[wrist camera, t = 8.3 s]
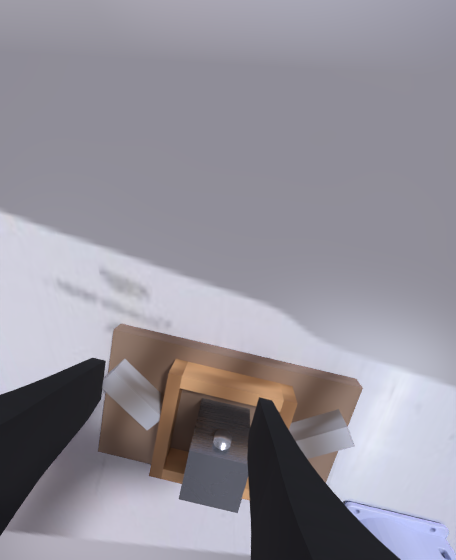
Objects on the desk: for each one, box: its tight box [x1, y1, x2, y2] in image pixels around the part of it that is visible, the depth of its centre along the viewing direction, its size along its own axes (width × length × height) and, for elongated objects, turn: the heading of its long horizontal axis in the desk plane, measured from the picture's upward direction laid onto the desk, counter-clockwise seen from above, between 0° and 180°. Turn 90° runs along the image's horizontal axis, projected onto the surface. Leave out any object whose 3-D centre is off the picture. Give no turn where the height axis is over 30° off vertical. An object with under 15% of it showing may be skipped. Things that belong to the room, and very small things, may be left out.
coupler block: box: [179, 398, 250, 513], centre depth 19 cm, size 4×5×5 cm
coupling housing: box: [98, 324, 363, 500], centre depth 21 cm, size 20×12×3 cm, turn 78°
